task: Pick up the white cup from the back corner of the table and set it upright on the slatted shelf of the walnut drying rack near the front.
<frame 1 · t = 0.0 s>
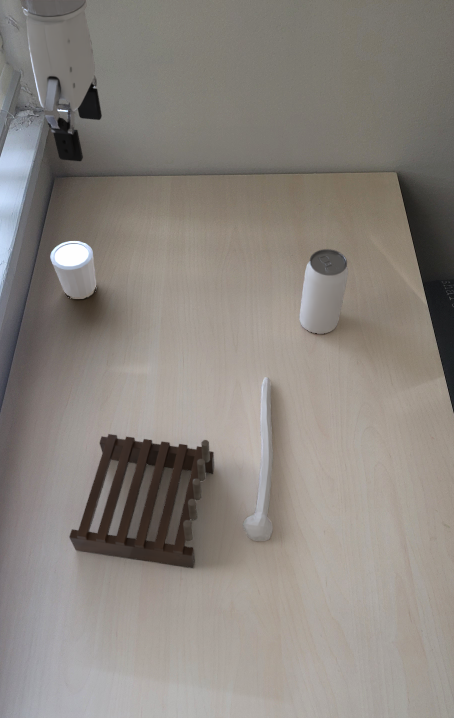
hand: (81, 138, 89), 25 cm above the table, tool pointing down, fingers open, 9 cm apart
white spoon: (258, 456, 93), on the table
can: (318, 322, 106), on the table
rack: (147, 507, 88), on the table
white cup: (80, 289, 110), on the table
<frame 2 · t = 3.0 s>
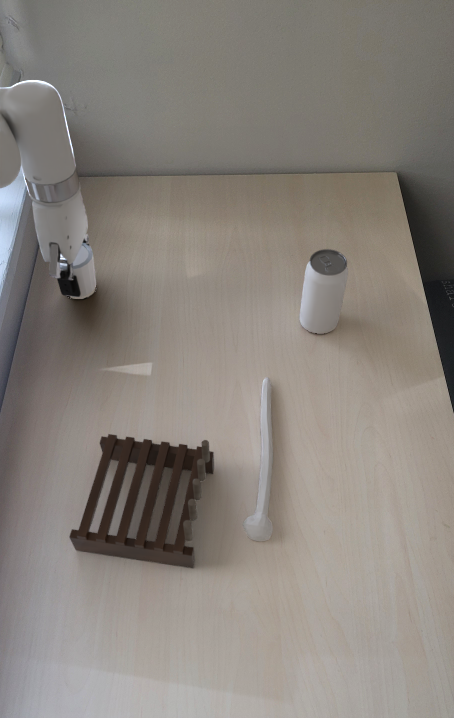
hand: (77, 278, 108), 2 cm above the table, tool pointing down, fingers closed on white cup, 6 cm apart
white cup: (80, 289, 110), on the table, touching gripper
everything else where it was.
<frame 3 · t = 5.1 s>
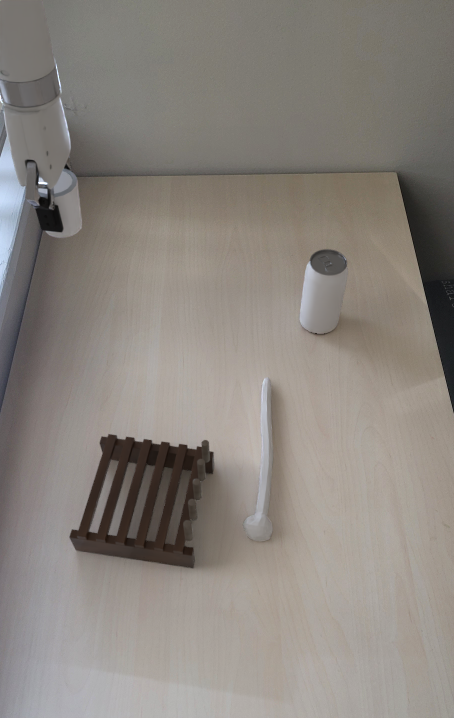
hand: (59, 212, 93), 17 cm above the table, tool pointing down, fingers closed on white cup, 6 cm apart
white cup: (63, 226, 95), point 15 cm above the table, touching gripper
everything else where it was.
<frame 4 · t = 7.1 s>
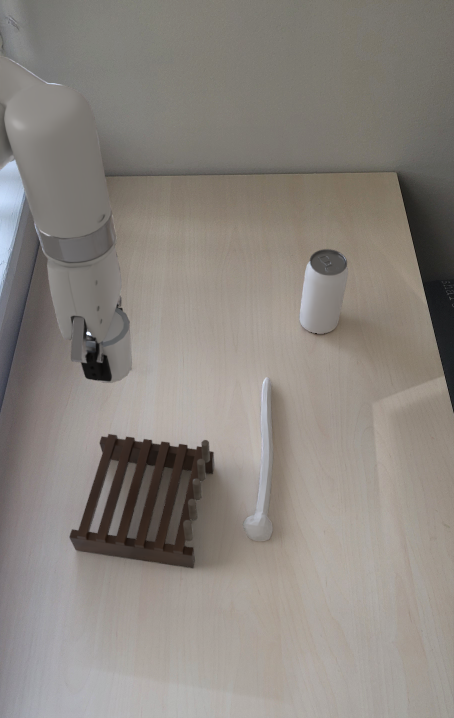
hand: (106, 353, 79), 18 cm above the table, tool pointing down, fingers closed on white cup, 6 cm apart
white cup: (110, 366, 81), point 16 cm above the table, touching gripper
everything else where it was.
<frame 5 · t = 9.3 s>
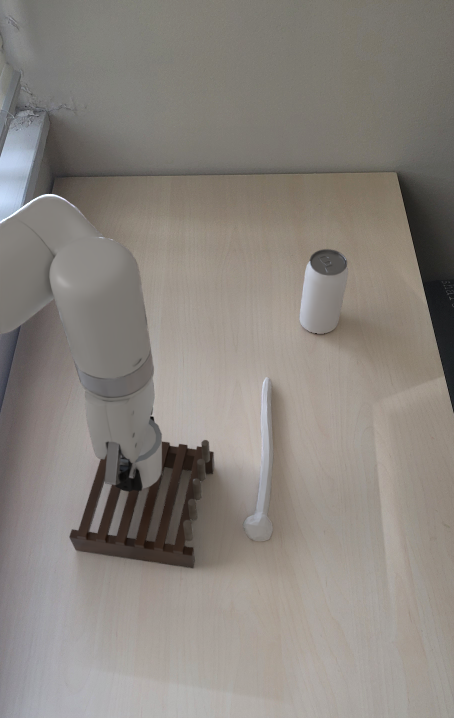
hand: (136, 460, 78), 12 cm above the table, tool pointing down, fingers closed on white cup, 6 cm apart
white cup: (139, 470, 80), point 9 cm above the table, touching gripper
everything else where it was.
when the fingers open (7 cm above the table, at t = 11.1 s): white cup stays where it is, resting on rack.
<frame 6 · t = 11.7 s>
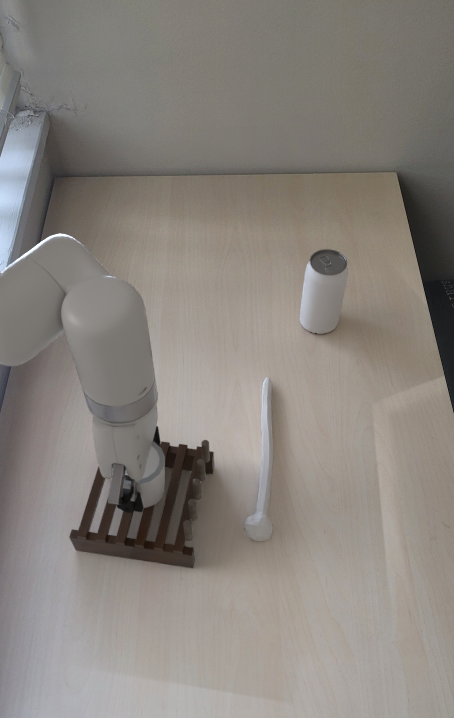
hand: (139, 475, 81), 8 cm above the table, tool pointing down, fingers open, 9 cm apart
white cup: (143, 490, 84), point 5 cm above the table, touching rack
everything else where it was.
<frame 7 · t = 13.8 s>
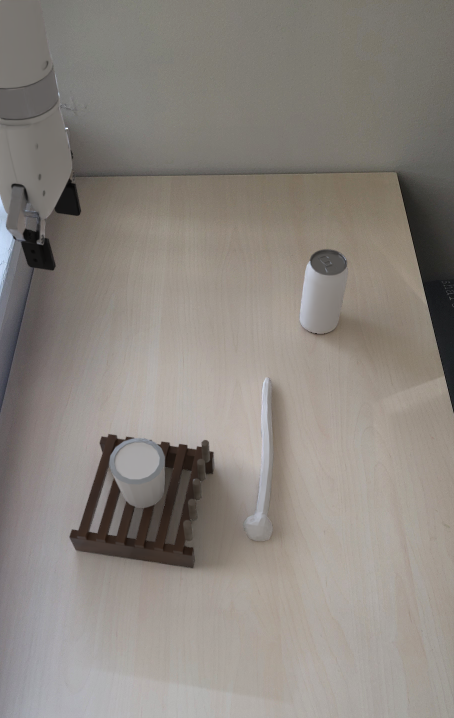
hand: (55, 239, 76), 27 cm above the table, tool pointing down, fingers open, 9 cm apart
nothing on the table moved.
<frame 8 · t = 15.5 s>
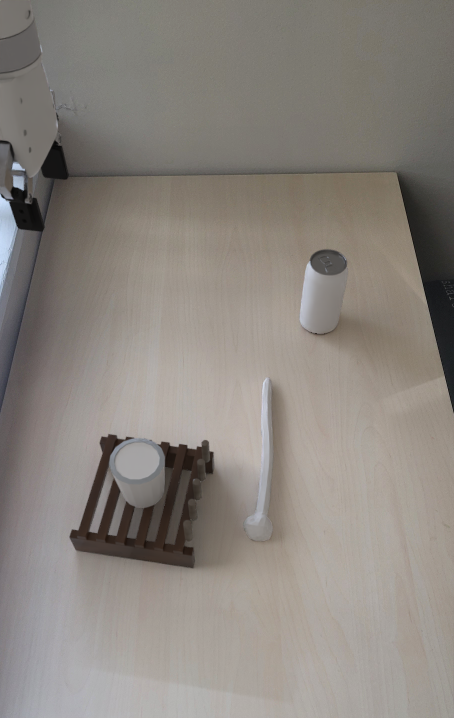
hand: (44, 202, 77), 28 cm above the table, tool pointing down, fingers open, 9 cm apart
nothing on the table moved.
at the end: white cup inside the target area on the rack (0.1 cm from its centre), point 4.6 cm above the rack's base; white cup tilted 0°; the gripper is holding nothing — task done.
